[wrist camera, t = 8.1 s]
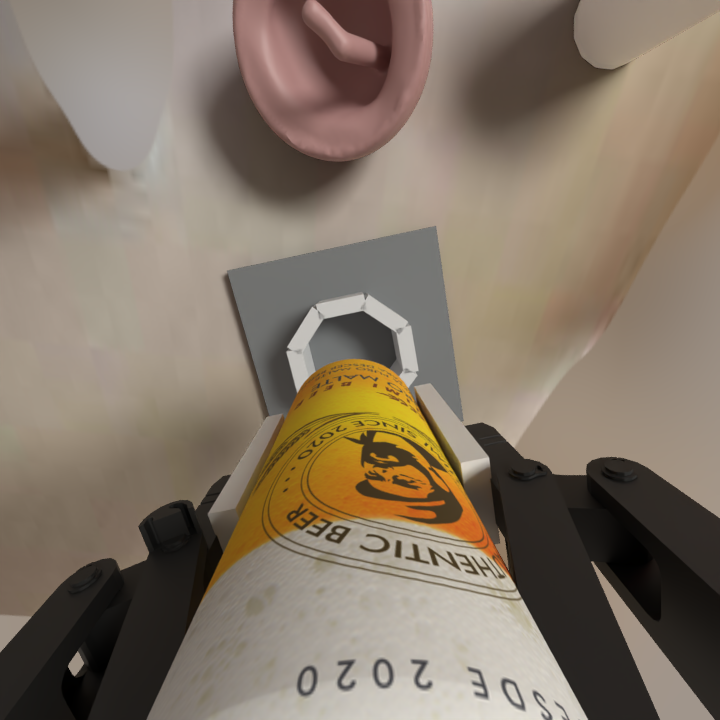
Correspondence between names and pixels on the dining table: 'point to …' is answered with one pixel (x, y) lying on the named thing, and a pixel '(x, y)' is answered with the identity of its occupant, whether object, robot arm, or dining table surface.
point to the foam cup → (633, 27)
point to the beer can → (361, 582)
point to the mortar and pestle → (334, 69)
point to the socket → (350, 315)
